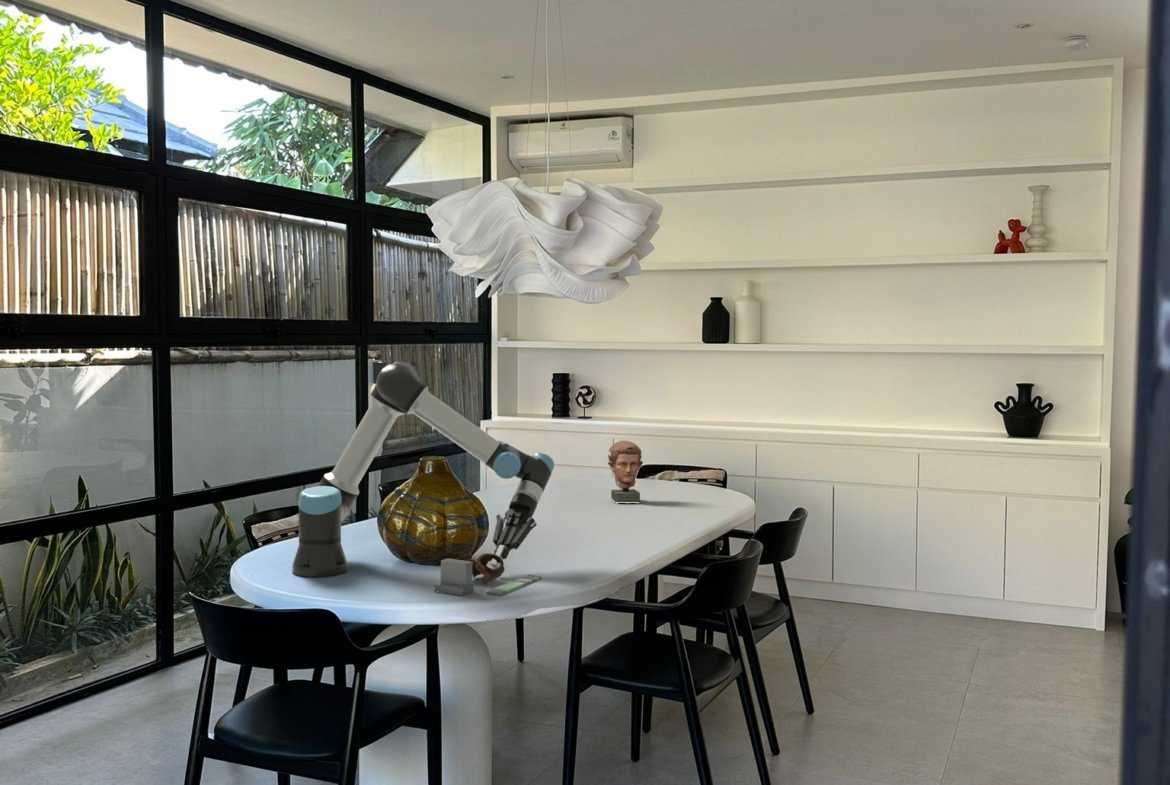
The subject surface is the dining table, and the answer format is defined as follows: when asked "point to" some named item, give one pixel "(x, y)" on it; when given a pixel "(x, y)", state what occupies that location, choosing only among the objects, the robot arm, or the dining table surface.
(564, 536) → the dining table surface
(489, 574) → the pottery mug
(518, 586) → the gauge strip
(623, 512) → the dining table surface
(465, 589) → the striated grey slab
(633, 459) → the bust
